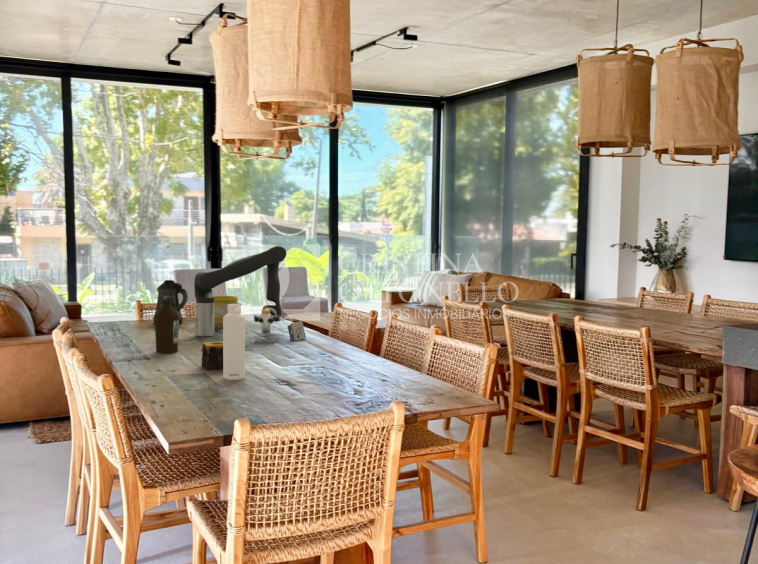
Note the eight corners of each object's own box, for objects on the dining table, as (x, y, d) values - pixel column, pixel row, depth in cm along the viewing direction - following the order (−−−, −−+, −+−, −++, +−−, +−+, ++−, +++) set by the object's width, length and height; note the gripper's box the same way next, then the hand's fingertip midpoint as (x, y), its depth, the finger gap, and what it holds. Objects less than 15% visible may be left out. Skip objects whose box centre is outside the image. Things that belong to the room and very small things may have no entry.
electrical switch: (295, 341, 355) (294, 323, 354) (287, 341, 357) (286, 323, 357) (306, 339, 363) (305, 321, 362) (298, 339, 365) (296, 321, 365)
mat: (254, 343, 348) (254, 341, 348) (256, 339, 358) (256, 338, 358) (274, 343, 348) (274, 342, 348) (276, 339, 358) (276, 338, 358)
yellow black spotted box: (206, 370, 282) (206, 346, 281) (200, 366, 291) (200, 342, 290) (232, 368, 287) (232, 344, 286) (225, 364, 295) (225, 340, 295)
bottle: (234, 380, 265) (234, 306, 262) (218, 378, 269) (218, 304, 267) (249, 377, 272) (249, 304, 269) (233, 374, 276) (233, 302, 274)
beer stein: (154, 321, 416) (153, 279, 414) (188, 321, 420) (188, 279, 418) (152, 325, 400) (151, 281, 398) (187, 325, 404) (187, 281, 402)
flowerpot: (234, 328, 394) (234, 299, 393) (202, 328, 394) (202, 298, 393) (241, 324, 412) (241, 295, 411) (210, 323, 412) (210, 295, 411)
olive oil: (151, 353, 316) (151, 298, 314) (158, 349, 326) (157, 295, 324) (175, 354, 316) (175, 298, 314) (181, 349, 327) (181, 295, 324)
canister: (261, 333, 351) (260, 309, 349) (262, 332, 355) (261, 308, 354) (269, 333, 351) (269, 309, 350) (270, 332, 355) (270, 308, 354)
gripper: (254, 308, 366) (250, 313, 349) (282, 308, 367) (279, 313, 350) (255, 323, 366) (250, 328, 349) (282, 323, 367) (279, 328, 350)
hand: (265, 320), depth 350 cm, fingers closed on canister, 4 cm apart
